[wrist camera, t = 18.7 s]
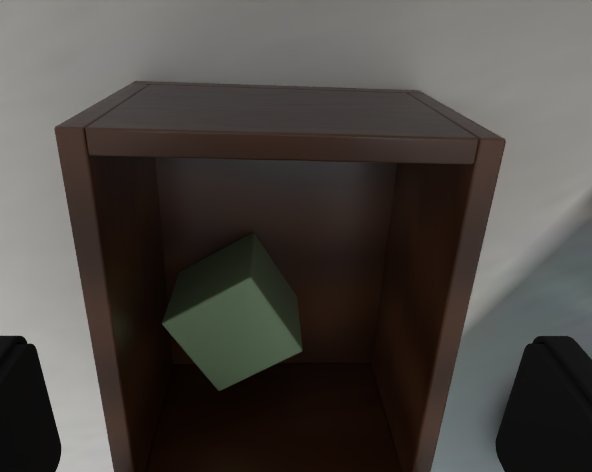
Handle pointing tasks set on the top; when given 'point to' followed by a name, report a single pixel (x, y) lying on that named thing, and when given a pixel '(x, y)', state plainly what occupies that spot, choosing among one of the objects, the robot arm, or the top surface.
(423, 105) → the box
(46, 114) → the top surface
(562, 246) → the top surface
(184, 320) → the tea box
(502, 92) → the top surface
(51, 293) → the top surface
